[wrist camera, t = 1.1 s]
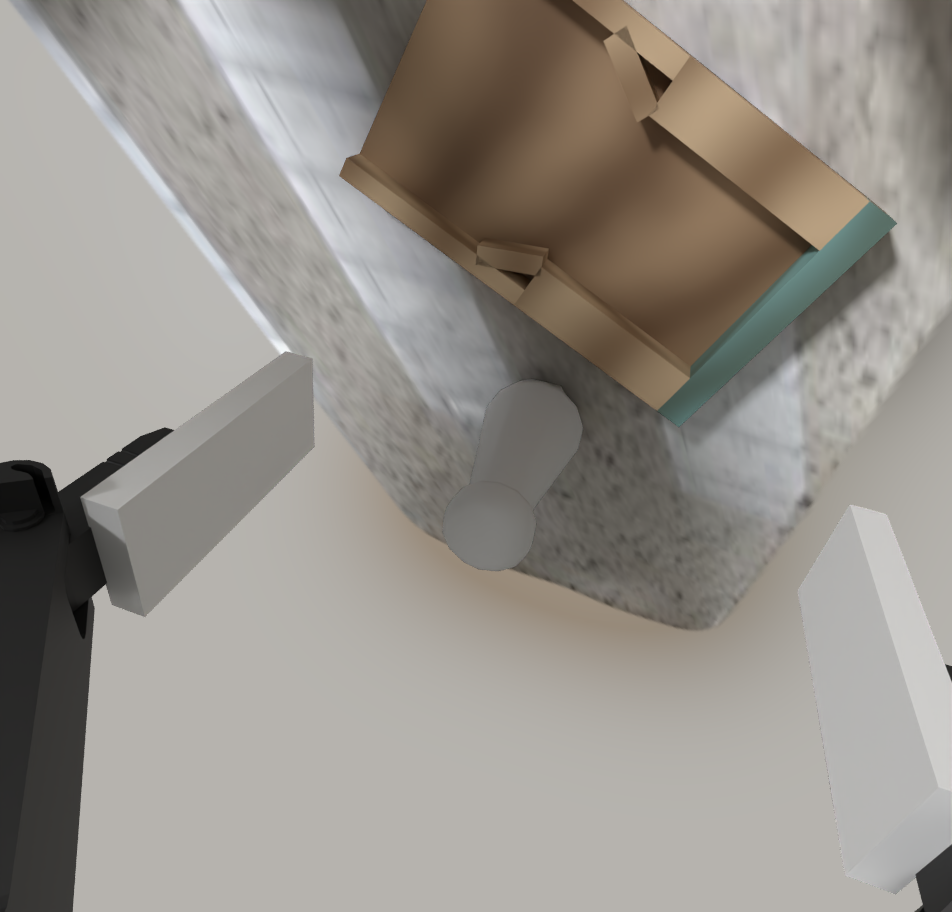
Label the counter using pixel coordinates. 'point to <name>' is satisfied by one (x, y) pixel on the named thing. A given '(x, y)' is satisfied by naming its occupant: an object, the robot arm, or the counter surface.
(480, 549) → the salt shaker
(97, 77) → the counter surface
